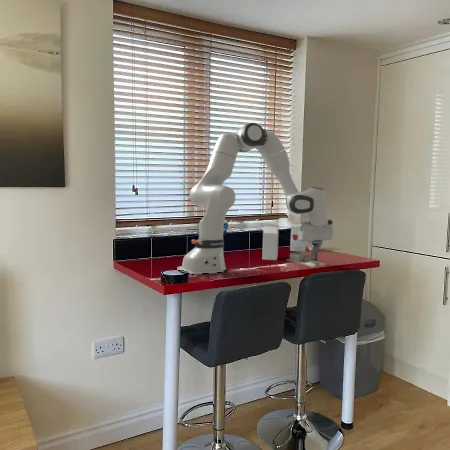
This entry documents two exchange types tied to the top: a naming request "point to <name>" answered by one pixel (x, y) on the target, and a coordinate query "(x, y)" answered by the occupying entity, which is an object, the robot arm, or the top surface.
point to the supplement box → (296, 240)
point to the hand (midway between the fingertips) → (314, 249)
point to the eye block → (303, 259)
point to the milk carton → (270, 242)
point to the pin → (315, 250)
